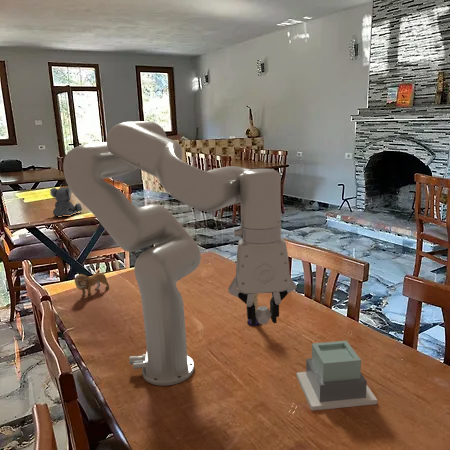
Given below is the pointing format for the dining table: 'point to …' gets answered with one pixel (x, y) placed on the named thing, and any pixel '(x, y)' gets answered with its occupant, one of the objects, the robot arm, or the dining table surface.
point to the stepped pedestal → (334, 378)
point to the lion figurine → (90, 282)
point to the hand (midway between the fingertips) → (263, 320)
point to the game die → (263, 314)
